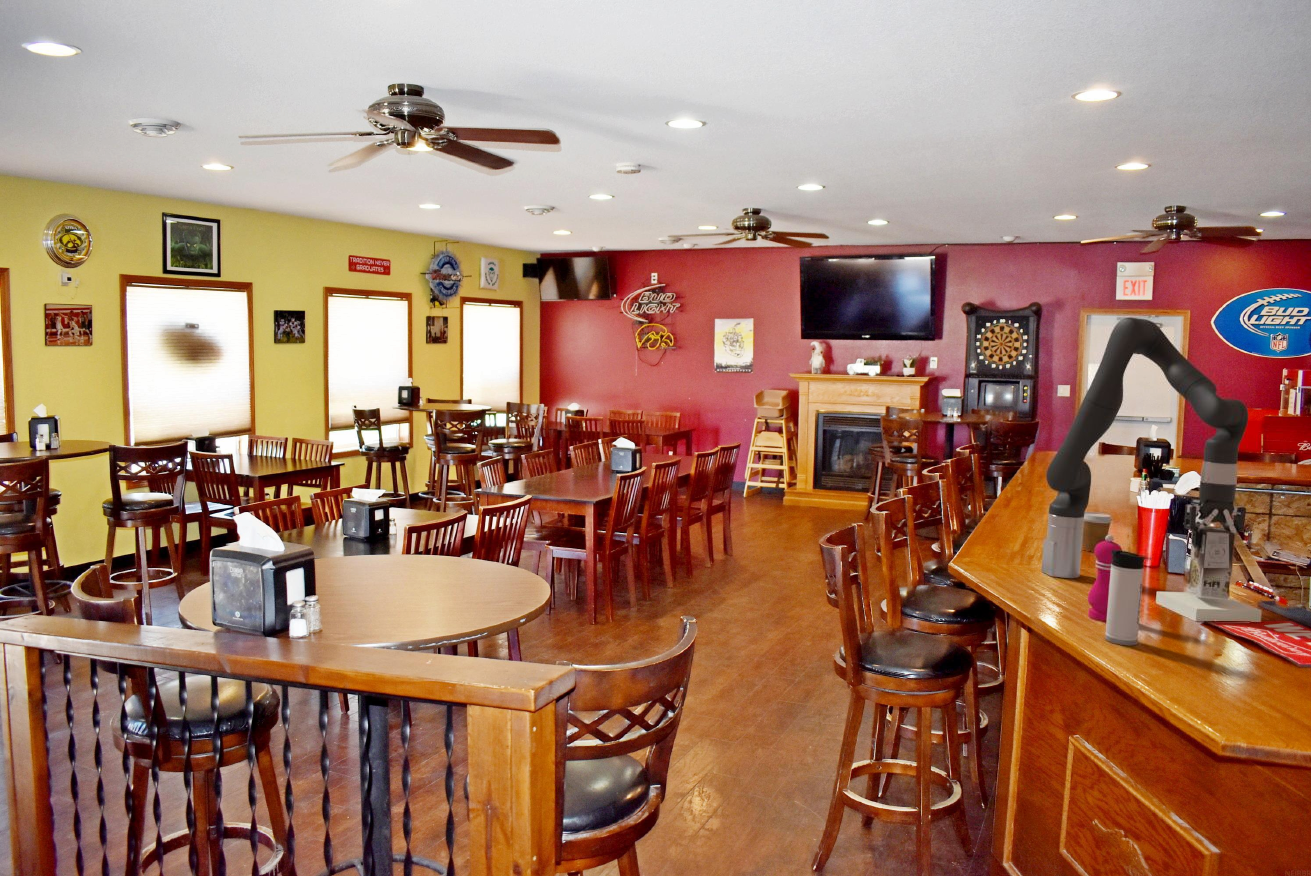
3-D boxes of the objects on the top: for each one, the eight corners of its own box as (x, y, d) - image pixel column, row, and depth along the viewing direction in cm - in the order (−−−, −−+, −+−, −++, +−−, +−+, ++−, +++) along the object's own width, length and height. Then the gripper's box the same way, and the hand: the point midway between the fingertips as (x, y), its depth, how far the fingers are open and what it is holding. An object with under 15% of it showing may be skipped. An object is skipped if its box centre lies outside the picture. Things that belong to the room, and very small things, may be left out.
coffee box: (1229, 599, 222) (1236, 533, 220) (1200, 596, 223) (1206, 531, 222) (1214, 590, 231) (1221, 526, 229) (1186, 587, 232) (1192, 524, 231)
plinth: (1195, 621, 219) (1196, 608, 219) (1155, 602, 235) (1156, 591, 235) (1260, 622, 220) (1261, 610, 219) (1216, 604, 236) (1217, 592, 235)
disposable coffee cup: (1111, 550, 301) (1114, 514, 300) (1107, 555, 293) (1110, 518, 292) (1079, 546, 306) (1082, 510, 305) (1075, 551, 298) (1077, 514, 297)
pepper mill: (1118, 624, 214) (1125, 539, 212) (1084, 618, 218) (1090, 535, 216) (1121, 617, 220) (1128, 534, 218) (1088, 612, 224) (1094, 530, 222)
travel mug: (1097, 636, 203) (1104, 547, 201) (1126, 637, 204) (1133, 547, 202) (1114, 645, 197) (1121, 553, 195) (1143, 646, 198) (1151, 554, 196)
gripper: (1236, 479, 228) (1229, 545, 230) (1180, 477, 228) (1174, 543, 229) (1257, 484, 221) (1250, 551, 223) (1199, 482, 220) (1193, 550, 222)
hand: (1211, 547), depth 226 cm, fingers closed on coffee box, 7 cm apart
